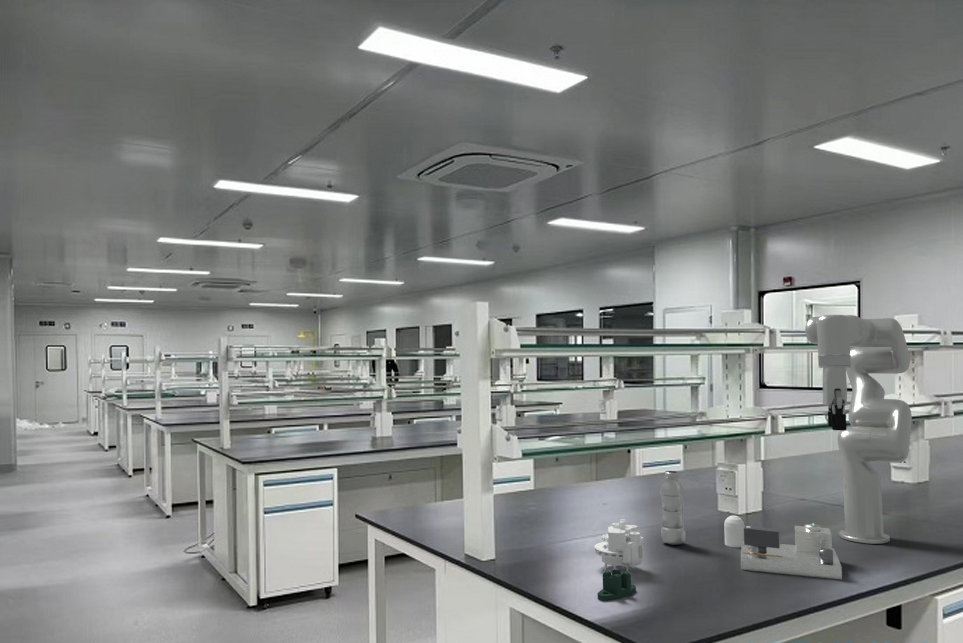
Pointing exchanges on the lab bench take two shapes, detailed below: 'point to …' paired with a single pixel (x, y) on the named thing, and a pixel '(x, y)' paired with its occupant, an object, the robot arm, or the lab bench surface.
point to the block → (762, 538)
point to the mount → (616, 586)
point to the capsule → (734, 531)
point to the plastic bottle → (672, 509)
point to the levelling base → (797, 555)
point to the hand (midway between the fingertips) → (837, 428)
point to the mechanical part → (621, 546)
